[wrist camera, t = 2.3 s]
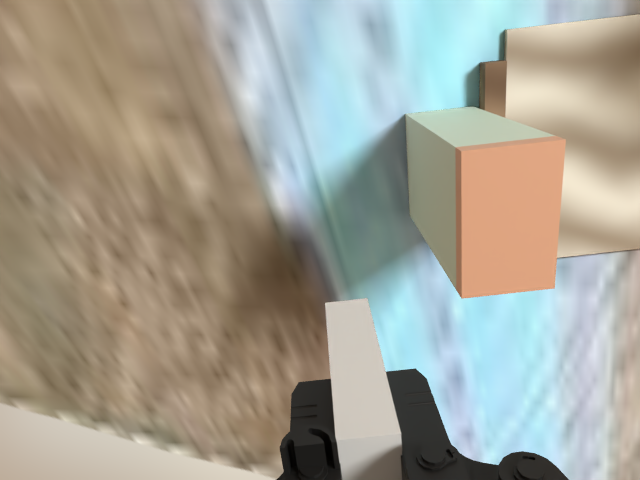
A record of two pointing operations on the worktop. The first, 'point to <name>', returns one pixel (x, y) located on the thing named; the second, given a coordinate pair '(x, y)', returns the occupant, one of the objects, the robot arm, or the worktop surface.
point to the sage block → (486, 198)
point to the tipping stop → (580, 120)
